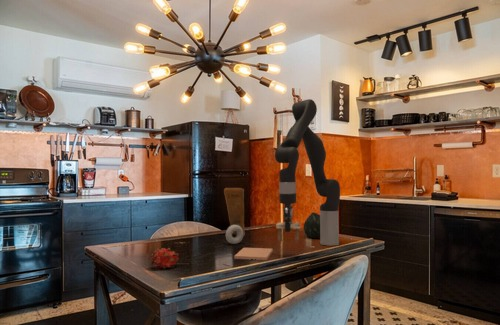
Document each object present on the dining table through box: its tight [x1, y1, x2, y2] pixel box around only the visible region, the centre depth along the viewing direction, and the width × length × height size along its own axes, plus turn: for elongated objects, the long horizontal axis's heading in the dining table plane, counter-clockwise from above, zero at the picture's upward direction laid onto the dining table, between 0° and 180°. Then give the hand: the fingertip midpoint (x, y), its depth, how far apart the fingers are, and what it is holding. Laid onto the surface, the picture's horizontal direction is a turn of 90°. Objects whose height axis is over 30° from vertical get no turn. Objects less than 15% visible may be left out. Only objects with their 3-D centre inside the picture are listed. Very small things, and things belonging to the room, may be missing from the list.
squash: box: [302, 212, 320, 240], centre depth 210 cm, size 14×15×15 cm
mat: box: [233, 247, 274, 261], centre depth 166 cm, size 14×18×1 cm
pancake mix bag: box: [223, 187, 246, 237], centre depth 223 cm, size 7×19×28 cm, turn 34°
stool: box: [275, 222, 301, 244], centre depth 163 cm, size 10×6×8 cm, turn 79°
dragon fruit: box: [149, 247, 181, 270], centre depth 145 cm, size 8×8×12 cm
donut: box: [225, 225, 244, 245], centre depth 192 cm, size 10×4×10 cm, turn 119°
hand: (288, 230), depth 163 cm, fingers closed on stool, 6 cm apart
